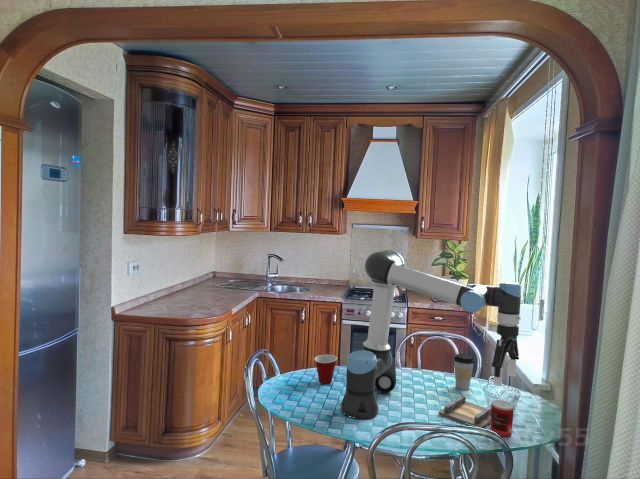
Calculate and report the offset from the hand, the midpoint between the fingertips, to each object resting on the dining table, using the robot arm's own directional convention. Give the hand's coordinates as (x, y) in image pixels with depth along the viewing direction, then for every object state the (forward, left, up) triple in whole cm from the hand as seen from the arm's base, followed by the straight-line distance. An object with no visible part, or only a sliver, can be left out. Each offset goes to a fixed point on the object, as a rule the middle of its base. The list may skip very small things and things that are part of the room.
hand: (504, 380), depth 175 cm
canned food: (0, 0, -20) cm, 20 cm away
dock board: (-15, +6, -20) cm, 26 cm away
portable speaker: (-58, +9, -20) cm, 62 cm away
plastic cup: (-78, -11, -20) cm, 81 cm away
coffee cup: (-30, +32, -20) cm, 48 cm away
